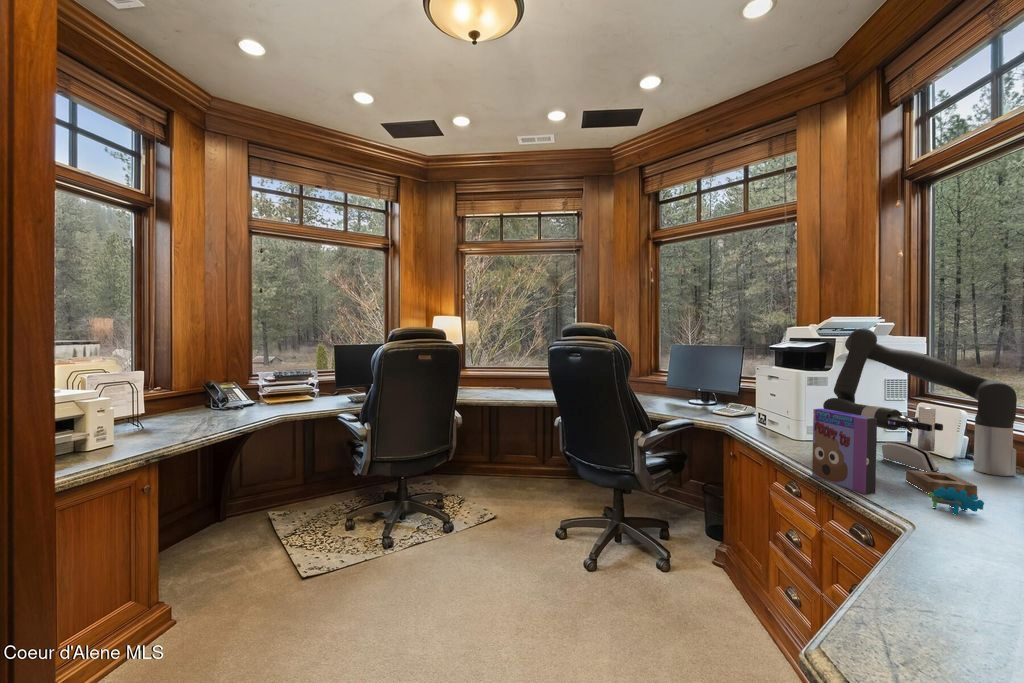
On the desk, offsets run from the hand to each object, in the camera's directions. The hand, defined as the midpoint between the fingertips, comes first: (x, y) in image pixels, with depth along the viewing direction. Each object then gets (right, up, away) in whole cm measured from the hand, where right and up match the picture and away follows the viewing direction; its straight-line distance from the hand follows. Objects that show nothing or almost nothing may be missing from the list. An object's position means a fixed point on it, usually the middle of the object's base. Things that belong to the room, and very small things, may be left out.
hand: (936, 427), depth 138 cm
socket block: (0, -20, -1) cm, 20 cm away
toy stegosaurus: (-13, -21, -18) cm, 30 cm away
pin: (-1, -8, +3) cm, 8 cm away
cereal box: (-28, -20, +4) cm, 35 cm away
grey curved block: (+13, -20, +24) cm, 33 cm away
